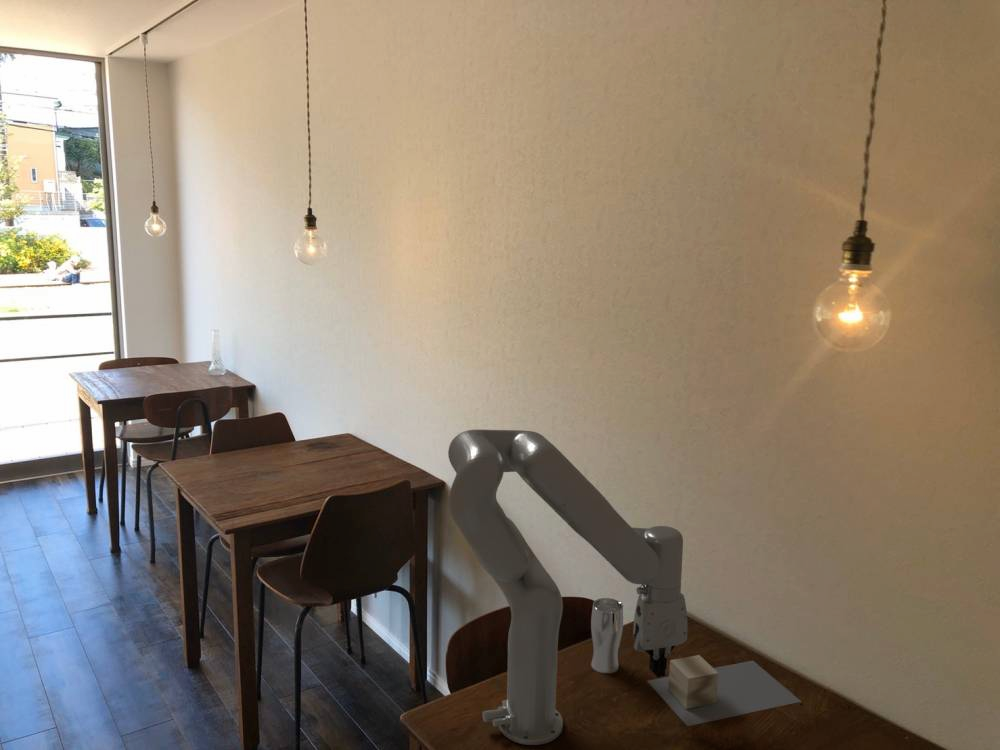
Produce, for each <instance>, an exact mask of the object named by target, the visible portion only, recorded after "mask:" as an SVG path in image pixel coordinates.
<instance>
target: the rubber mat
mask: <svg viewBox="0 0 1000 750" xmlns="http://www.w3.org/2000/svg"><path fill="white" fill-rule="evenodd" d="M713 668H714V669H715V670H716V671H717V672H718V685H717V698H716V704H714V705H709V706H704V707H699V708H695V709H690V710H686V709H685V708H684V707H683V706H682V705H681V704H680V703H679V702H678V701H677V700H676V699H675V698H674V696H673V695H672V694H671V693H670V692H669V691H668V684H669V676H664V677H659V678H654V679H649V680H646V682H647V683H648V684H649V686H651V687H652V688H653V690H654V691H655V692H656V693H657V694H658V695H659V697H661V698H662V699H663V701H664V702H665V703H666V704H667V705H668V706H669V707H670V709H671V710H672V711H673V712H674V713H675V714H676V715H677V716H678V717H679V719H680V720H681V721H682V722H683V723H684V724H685V725H686V726H687V727H690V726H695V725H699V724H705V723H709V722H710V723H711V722H715V721H719V720H723V719H728V718H732V717H737V716H742V715H746V714H747V715H748V714H751V713H756V712H760V711H765V710H769V709H774V708H779V707H783V706H789V705H792V704H798V705H801V704H802V701H801V699H799V698H798V697H797V696H796V695H794V694H793V693H792V692H791V691H790V690H789V689H788V688H786V687H785V686H784V685H783V684H781V683H780V682H779V681H778V680H776V678H774V677H773V676H771V674H769V673H768V672H767V671H766V670H765V669H763V667H761V666H760V665H759V664H758V663H757V662H755V660H748V661H743V662H739V663H734V664H727V665H722V666H717V667H713Z"/></svg>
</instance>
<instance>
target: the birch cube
mask: <svg viewBox="0 0 1000 750" xmlns="http://www.w3.org/2000/svg"><path fill="white" fill-rule="evenodd" d="M714 668H715V667H713V666H712V665H710V664H709V663H708V662H707V660H705V659H704V658H703V657H702V656H701V655H700V654H697V655H690V656H686V657H679V658H676V659H670V660H669V668H668V671H669V673H668V677H669V684H668V691H669V692H670V693H671V694H672V695H673V696H674V698H675V699H676V700H677V701H678V702H679V703H680V704H681V705H682V706H683V707H684V708H685V709H686V710H690V709H695V708H699V707H704V706H709V705H714V704H716V698H717V685H718V672H717V671H716V670H715V669H714Z"/></svg>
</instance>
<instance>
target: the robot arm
mask: <svg viewBox="0 0 1000 750" xmlns="http://www.w3.org/2000/svg"><path fill="white" fill-rule="evenodd" d="M447 452H448V460H449V463H450V465H451V467H452V468H453V470H454V471H455V473H456V474H455V477H454V479H453V481H452V485H451V487H450V491H449V494H448V495H449V497H448V509H449V513H450V515H451V517H452V520H453V522H454V523H455V525H456V526H457V528H458V529H459V531H460V533H461V534H462V536H463V537H464V539H465V540H466V542H467V543H468V545H469V546H470V548H471V549H472V551H473V553H474V555H475V557H476V558H477V561H478V562H479V564H480V565H481V567H482V568H483V570H484V571H486V573H487V574H488V575H490V576H491V577H492V578H493V581H494V582H495V583H496V585H497V586H498V588H499V589H500V590H501V592H502V594H503V596H504V598H505V600H506V602H507V604H508V606H509V609H510V613H511V618H510V619H511V620H510V626H509V629H508V636H507V673H506V674H507V677H506V679H507V680H506V685H507V686H506V699H503V700H501V706H498V707H497V708H496V709H490V710H489V709H488V710H484V711H482V713H481V714H482V715H481V716H482V720H483V722H484V723H487V722H492V725H493V728H498V729H499V730H500V732H501V733H502V735H503V736H504V737H506V738H507V739H509V740H510V741H512V742H514V743H516V744H517V743H518V744H520V745H524V746H525V745H526V746H540V745H544V744H545V745H546V744H548V743H550V742H552V741H554V740H556V739H557V738H558V737H559V736H560V735H561V733H562V731H563V727H564V719H563V717H562V715H561V713H560V712H559V711H558V710H557V709H556V705H557V704H556V703H557V676H558V675H557V674H558V647H559V643H558V642H559V634H560V633H559V632H560V625H561V620H562V615H563V610H564V604H563V598H562V597H563V596H562V594H561V591H560V589H559V587H558V585H557V583H556V582H555V581H554V579H553V578H552V576H551V575H550V574H549V573H548V571H547V570H546V568H545V567H544V566H543V564H542V563H541V562H540V560H539V558H538V557H537V555H535V554H536V553H534V551H533V550H532V549H531V547H530V545H529V544H528V543H527V541H526V539H525V537H524V536H523V534H522V532H521V531H520V529H519V528H518V526H517V525H516V524H515V523H514V522H513V520H512V519H510V518H509V517H508V516H507V515H506V513H505V512H504V509H503V508H502V507H501V505H500V503H499V502H498V499H497V492H498V488H499V486H500V484H501V483H502V480H503V476H504V474H505V473H517V474H518V475H519V477H520V478H521V479H522V480H523V481H524V483H525V484H527V486H529V487H530V488H531V490H532V491H534V493H535V494H536V495H537V496H539V497H540V498H541V499H542V500H543V502H545V504H547V505H548V506H549V507H550V508H551V509H552V510H553V511H554V512H555V513H556V514H557V515H558V516H559V517H560V518H561V520H563V521H564V522H565V523H566V524H567V525H568V526H569V527H570V528H571V529H572V530H573V531H574V532H575V533H577V534H578V535H579V536H580V537H581V538H582V539H583V540H585V541H586V542H587V543H588V544H589V545H590V546H591V547H592V548H594V549H595V550H596V552H598V553H599V554H600V555H601V556H602V557H603V559H605V560H606V562H608V563H609V564H610V566H611V567H612V568H613V569H615V570H616V572H617V573H619V574H620V575H621V576H622V577H623V579H625V580H626V581H627V582H629V583H631V584H634V585H640V586H638V587H636V589H635V590H636V594H637V595H638V598H637V601H636V606H635V611H634V612H635V613H634V618H633V627H632V628H633V629H632V630H633V632H632V633H633V634H632V635H633V639H634V644H633V649H634V650H635V651H636V652H637V653H647V654H648V655H649V666H648V668H649V670H650V672H651V673H652V674H653V675H654V676H655V677H656V679H659V678H664V677H666V670H667V665H668V663H667V661H668V658H669V657H670V655H671V652H672V651H673V649H674V648H675V647H677V646H680V645H682V644H684V643H685V642H686V641H687V639H688V612H687V605H686V599H685V595H684V594H683V593H681V591H682V590H681V589H682V571H683V553H684V552H683V549H684V539H683V537H684V536H683V534H682V533H681V532H680V531H679V530H678V529H676V528H674V527H671V526H666V525H665V526H664V525H657V526H656V525H655V526H652V527H649V528H647V527H646V528H645V527H632V526H631V525H630V524H629V523H628V522H627V521H626V520H625V519H624V518H623V517H622V516H621V515H620V514H619V512H617V510H616V509H615V508H614V507H613V506H612V505H611V503H610V501H608V500H607V498H606V497H605V496H604V495H603V494H602V493H601V492H600V491H599V490H598V489H597V488H596V487H595V486H594V484H592V483H591V482H590V481H589V479H587V478H586V476H585V475H584V474H582V472H581V471H580V470H579V469H578V468H577V466H575V465H574V464H573V463H572V462H571V461H570V460H569V459H568V458H567V457H566V455H564V454H563V453H562V452H561V451H560V449H558V448H557V447H556V446H555V445H554V444H553V443H551V441H549V440H548V439H547V438H546V437H545V436H543V435H542V434H540V433H538V432H536V431H532V430H521V429H520V430H519V429H515V430H514V429H512V430H511V429H469V430H465V431H462V432H460V433H458V434H457V435H456V436H455V437H454V438H452V439H451V442H450V444H449V445H448V451H447Z"/></svg>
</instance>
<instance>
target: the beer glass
mask: <svg viewBox="0 0 1000 750" xmlns="http://www.w3.org/2000/svg"><path fill="white" fill-rule="evenodd" d="M623 629H624V604H623V603H622V602H621V601H619V600H617V599H614V598H611V597H602V598H601V597H600V598H598V599H595V600H594V601H593V602H592V610H591V618H590V630H591V638H592V647H593V655H592V660H591V664H590V665H591V667H592V669H593V670H594V671H596V672H598V673H601V674H612V673H613V674H614V673H616V672H617V671H618V670H619V667H620V665H619V658H618V654H619V649H620V644H621V639H622V635H623Z"/></svg>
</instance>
